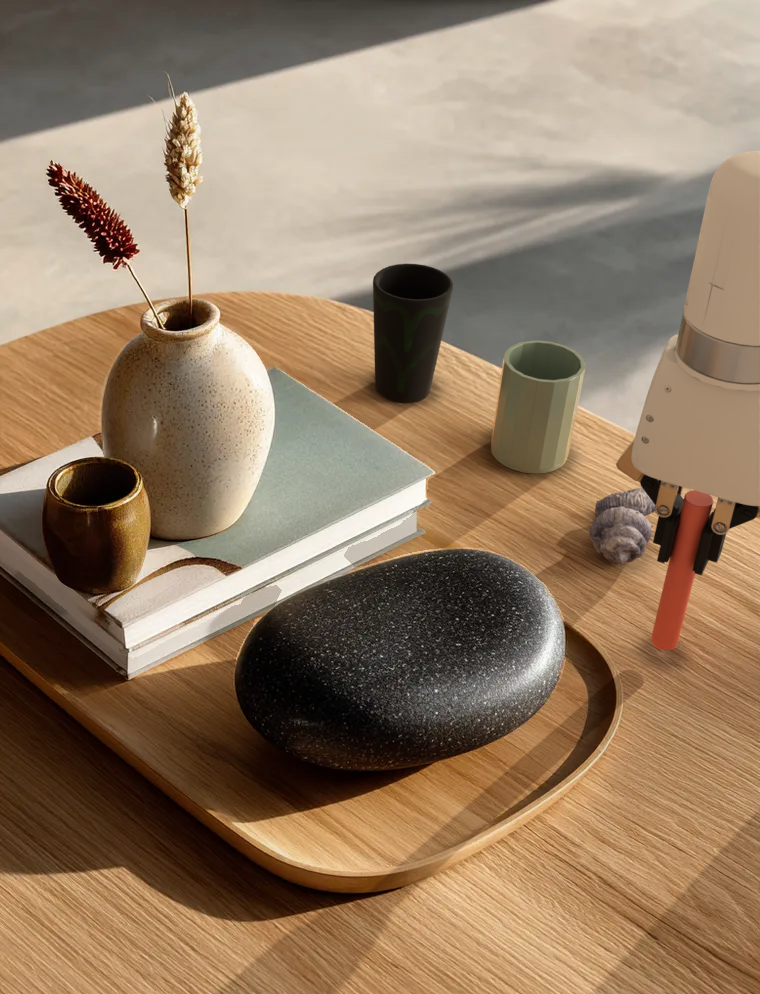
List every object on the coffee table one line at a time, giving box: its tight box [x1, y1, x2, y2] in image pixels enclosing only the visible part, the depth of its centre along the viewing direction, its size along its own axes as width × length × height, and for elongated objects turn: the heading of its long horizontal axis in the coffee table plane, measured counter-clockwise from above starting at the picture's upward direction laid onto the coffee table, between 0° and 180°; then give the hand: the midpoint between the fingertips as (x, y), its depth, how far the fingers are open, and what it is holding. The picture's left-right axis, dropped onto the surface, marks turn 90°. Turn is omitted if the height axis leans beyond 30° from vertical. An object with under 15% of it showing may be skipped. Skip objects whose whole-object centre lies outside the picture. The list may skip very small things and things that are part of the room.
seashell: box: [588, 487, 656, 565], centre depth 114 cm, size 5×5×10 cm
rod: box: [650, 490, 714, 651], centre depth 100 cm, size 2×2×14 cm
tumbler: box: [490, 339, 586, 475], centre depth 123 cm, size 7×7×10 cm
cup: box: [372, 263, 454, 404], centre depth 131 cm, size 8×8×12 cm
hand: (684, 556), depth 99 cm, fingers closed on rod, 2 cm apart
